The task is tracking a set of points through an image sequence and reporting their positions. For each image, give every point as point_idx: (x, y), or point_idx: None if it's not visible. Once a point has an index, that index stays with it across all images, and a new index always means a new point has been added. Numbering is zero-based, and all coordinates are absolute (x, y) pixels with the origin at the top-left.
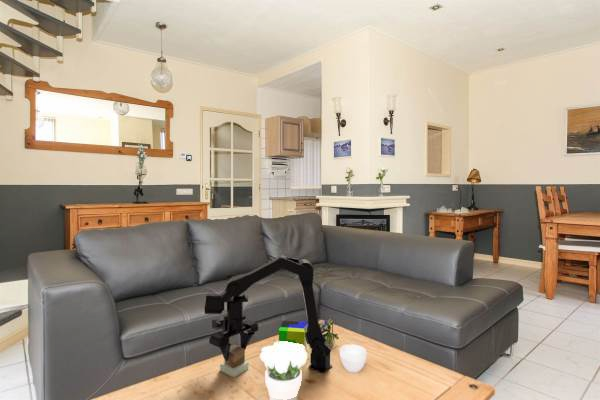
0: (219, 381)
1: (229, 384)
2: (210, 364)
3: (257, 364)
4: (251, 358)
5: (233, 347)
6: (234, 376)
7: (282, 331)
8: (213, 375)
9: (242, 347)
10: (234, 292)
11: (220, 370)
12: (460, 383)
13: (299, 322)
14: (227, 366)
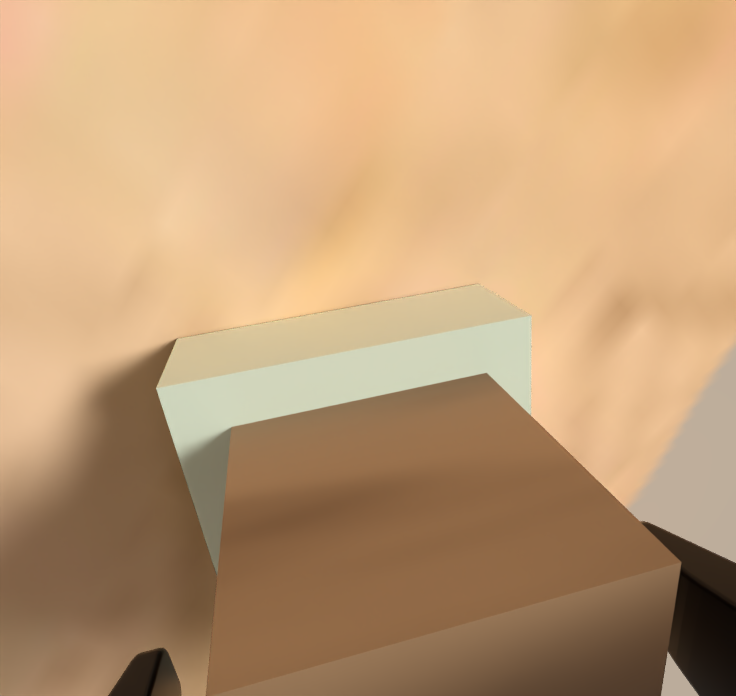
0: (34, 567)
1: (121, 665)
2: (123, 7)
3: (624, 486)
4: (699, 327)
5: (525, 676)
6: None
7: None
8: (14, 396)
9: (701, 640)
10: None
11: (178, 345)
12: None
13: None
14: (219, 538)
